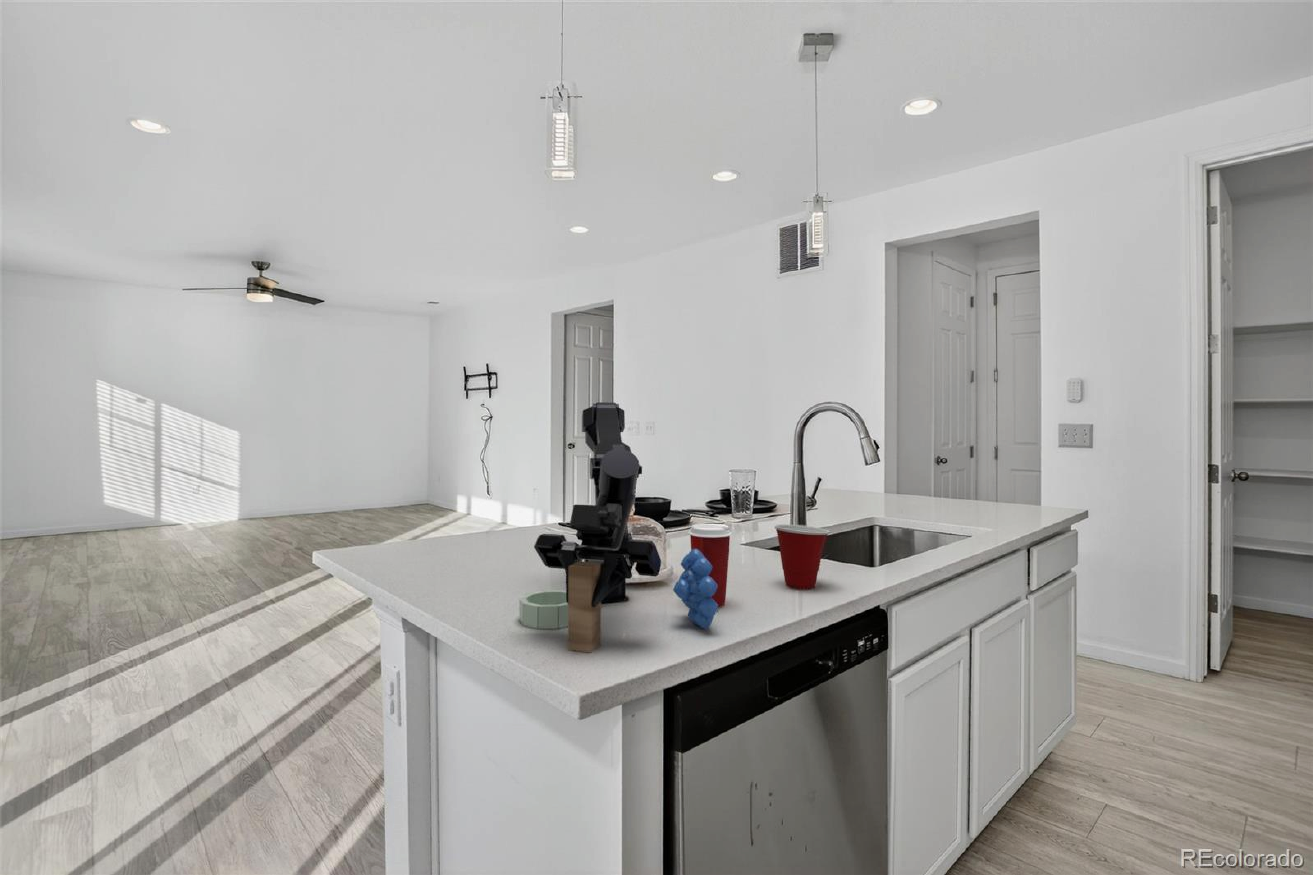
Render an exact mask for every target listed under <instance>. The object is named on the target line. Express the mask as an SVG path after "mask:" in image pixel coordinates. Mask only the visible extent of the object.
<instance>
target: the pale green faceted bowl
mask: <svg viewBox="0 0 1313 875" xmlns="http://www.w3.org/2000/svg"><path fill="white" fill-rule="evenodd" d="M518 602H519V605H518V606H519V607H518V608H519V610H518V612H519V614H518V615H519V616H518V618H519V621H520V623H521V625H522V626H523V627H528V628H532V629H538V630H544V629H546V630H549V629H562V628H568V603H567V601H566V590H556V589H555V590H554V589H553V590H551V589H550V590H540V591H535V592H529V593H526V594H524V595H523V596H521V597H519V601H518Z"/></svg>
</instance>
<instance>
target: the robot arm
mask: <svg viewBox="0 0 1313 875" xmlns="http://www.w3.org/2000/svg"><path fill="white" fill-rule="evenodd" d="M581 413H582V414H581V432H582V433H584V440H585V444H586V446H588V448H589V449H590V450H591V452H592V454H593V457H590V458H589V480H593V483H594V501H595V504H593V505H592V504H591V505H590V504H573V506H572V511H571V515H570V516H571V517H570V521H569V527H570V528H573V529H575V530H576V531H577V532H576V534H575V537H576V538H577V540H578V541H581V543H580V544H578V543H577V542H574V541H567V538H566V536H565V535H564V534H555V533H554V534H553V533H541V534H539V535H538V537H537V538H536V541H535V543H534V546H533V549H534V550H535V552H536V553H537V555H538V556H539V558H540V560H541V562H542V563H543V565H544V566H545V567H547V568H550V569H561V570H565V591H566V601H567V603H568V574H569V566H570V565H572V564H574V563H576V562H579V561H581V562H594V563H601V575H600V577H599V580H598V583H597V585H596V588H595V591H594V593H593V598H592V602H591V604H592V606H593V607H596V606H597V605H598V604H599V603H600V602H601V604H603V603H612V602H613V603H615V602H623V601H629V599H630V597H629V596H628V595H627V594H626V590H627V589H626V587H627V585H626V580H628V579H629V580H630V579H632V577H633V573H632V570H633V567H634V566H635V568H634V569H635V571H636V573H637V574H638V575H639V576H642V577H643V576H644V577H645V576H646V577H658V576H659V574H660V570H661V566H662V560H661V557H660V554H659V552H658V549H657V546H656V544H655V542H654V541H653V540H645V539H633V536H632V533H631V532H629V529H628V521H629V519H630V515H631V513H632V509H633V506H634V502H635V500H636V495H635V492H636V488H637V481H638V478H639V477H640V475H642V474H643V466H642V465H641V464H640V460H639V459H638V457H637V456H636V454H634V453H633V452H632V450H631V446H629V445H628V444H625V442H623V440H622V434H621V433H624V430H625V428H626V426H625V424H626V422H625V421H626V420H625V419H626V418H625V417H626V416H625V410H624V409H623V408H621V407H620V404H619V403H617V402H603V401H602V402H598V401H597V402H595V403H592V406H590V407H587V408H584V409H583V410H582V412H581Z"/></svg>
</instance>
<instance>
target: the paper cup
mask: <svg viewBox="0 0 1313 875" xmlns="http://www.w3.org/2000/svg"><path fill="white" fill-rule="evenodd" d="M687 534H688V535H689V536H690V551H691V550H692V549H698V550H699V551H700V552H701V553H702V554H703V555H704V557H705V558H706V559H707V560H708V561H709V562H710V564H711V565H712V570H711V572H710V574H709V575H708V576H709V577H711V578H712V579H713V580H714V581H715V582H716V584H717V585H718V587H717V590H716V592H715V594H714V595H713V596H712V597H711V598H713V599H714V601H715V602H716V603H717V604H718V609H719V607H720V608H722V607H725V605H726V596H727V587H728V586H727V584H728V583H727V582H728V568H729V555H730V541H731V540H730V538H731V535H732V534H733V533H732V532H731V530H730V527H729V526H728V525H726V524H722V523H696V524H693V525H691V527H690V528H689V531H688V532H687Z"/></svg>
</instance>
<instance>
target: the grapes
mask: <svg viewBox="0 0 1313 875" xmlns="http://www.w3.org/2000/svg"><path fill="white" fill-rule="evenodd" d="M680 566H681V567H682V568H683V570H684V571H682V573H681V574H680V576H679V579H678V581H676V583H675V585H674V586H673V588H672V591H673V592H674V594H675V595H676V596H677V597H678V598H679V599H681V601H682V604H684V605H685V607H687V608H688V613H687V617H688V618H689V620H691V623H693V624H695V625H698V626H699V627H701V628H702V629H708V628H710V627H711V625H712V623H713V620H714V619H715V615H716V613H717V611H718V609H719V608H718V604H717V603H716V602H715V601H714V599H713V598H711V597H712V596H713V595H714V594H715V592H716V590H717V587H718V585H717V584H716V582H715V581H714V580H713V579H712V578H711V577H709V576H708V575H709V574H710V572H711V570H712V565H711V564H710V562H709V561H708V560H707V559H706V558H705V557H704V555H703V554H702V553H701V552H700V551H699V550H698V549H692V550H691V549H690V551H689V552H688V553H687V554H686V555H685V556H684V557H683V559H682V560H681V562H680Z"/></svg>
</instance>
